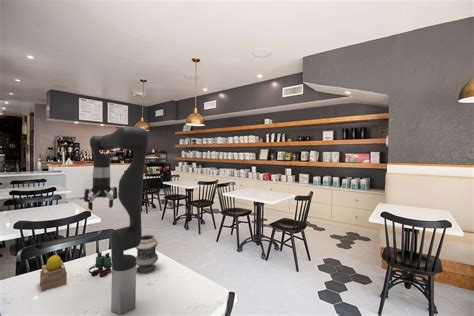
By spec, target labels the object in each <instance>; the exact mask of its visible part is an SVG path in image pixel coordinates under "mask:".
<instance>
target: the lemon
mask: <svg viewBox="0 0 474 316" xmlns="http://www.w3.org/2000/svg"><path fill="white" fill-rule="evenodd" d="M46 261H47V262H46V264H45V265H46V266H47V269H48V270H49V271H55V270H57V269H58V268H59V267H60V265H61V261H62V259H61V257H60V256H59V255H58V254H57V255H56V254H53V255H52V256H50V257H49V258H48V259H47V260H46Z"/></svg>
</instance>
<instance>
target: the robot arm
mask: <svg viewBox="0 0 474 316" xmlns="http://www.w3.org/2000/svg"><path fill="white" fill-rule="evenodd" d="M148 144H149V134H148V131H147V130H146V128H143V127H135V126H121V127H119V128H118V129H116V130H115V131H113V132H112V133H109V134H105V135H92V136H91V137H90V139H89V146H90V149H91V152H92V156H93V170H92V188H85V189H84V194H83V195H84V196H83V201H84V202H85V203H88V204H87V206H88V207H87V208H88V210H90V211H93V206H94V205H93V203H94V200H96V198H101V197H104V198H105V197H107V198H108V199H109V200H108V208H110V209H112V207H113V206H114V200H117V199H118V200H119V202H120V204H121V205H122V207H123V208H124V209H125V211H126V213H127V214H128V216H129V217H128V218H129V226H124V227H121V228H117V229H114V230H113V231H112V232H111V235H110V236H111V237H110V249H111V250H110V251H111V254H110V257H111V263H112V267H111V291H110V294H111V295H110V296H111V298H110V301H111V302H110V310H111V312H112V313H113V314H118V315H119V316H121V315H122V314H125V313H127V312H129V311H132V310H134V309H136V301H137V300H136V297H137V296H136V295H137V294H136V293H137V291H136V289H137V286H136V285H137V264H136V256H135V255H132V254H129V253H128V254H125V253H124V252H125V251H129V250H131V249H132V250H133V249H134V248H135V247H137V246H139V245H140V242H141V236H143V235H142V234H143V233H142V230H143V229H142V203H143V193H144V175H145V173H144V172H145V163H146V158H147V157H146V156H147V151H148ZM115 149H123V150H128V151H129V150H131V151H133V150H134V153H133V157H132V161H131V163H130V164H129V166H128V167H127V168H126V170H125V171H124V172H123V174H122V175H121V177H120V179H119V181H118V187H116V186H113V187H112V186H111V156H109V155H106V154H103V153H101V151H113V150H115ZM111 191H112V195H111V194H110V192H111ZM91 192H92V195H91V196H90V197H89V194H91ZM135 249H136V248H135Z"/></svg>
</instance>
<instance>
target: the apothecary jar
mask: <svg viewBox="0 0 474 316" xmlns="http://www.w3.org/2000/svg"><path fill="white" fill-rule="evenodd" d="M158 243H159V242H158V240H157V239H156V236H155V235H154V234H143V235H142V236H141V242H140V245H139V246H137V247H135V249H136V252H137V253H136V256H135V257H136V266H138V267H136V273H139V274H149V273H152V272H153V271H155V270H156V268H157V267H156V265H155V264H156V262H157V261H158V259H159V256H158V254H157V253H156V252H157V251H156V247H157V246H158V245H159V244H158Z"/></svg>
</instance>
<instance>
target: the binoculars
mask: <svg viewBox="0 0 474 316" xmlns="http://www.w3.org/2000/svg"><path fill="white" fill-rule="evenodd" d="M102 254H103V253H102V252H101V251H97V256H96V257H95V264H93V266H90V267H89V268H88V273H89V274H91V275H90V276H91V277H97V276H99V277H100V278H103V277H105V276H107V274H108V273H110V272H112V260H111V254H110V252H106V253H105V254H104V255H102ZM93 269H94V270H93ZM91 270H93V271H91Z"/></svg>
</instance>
